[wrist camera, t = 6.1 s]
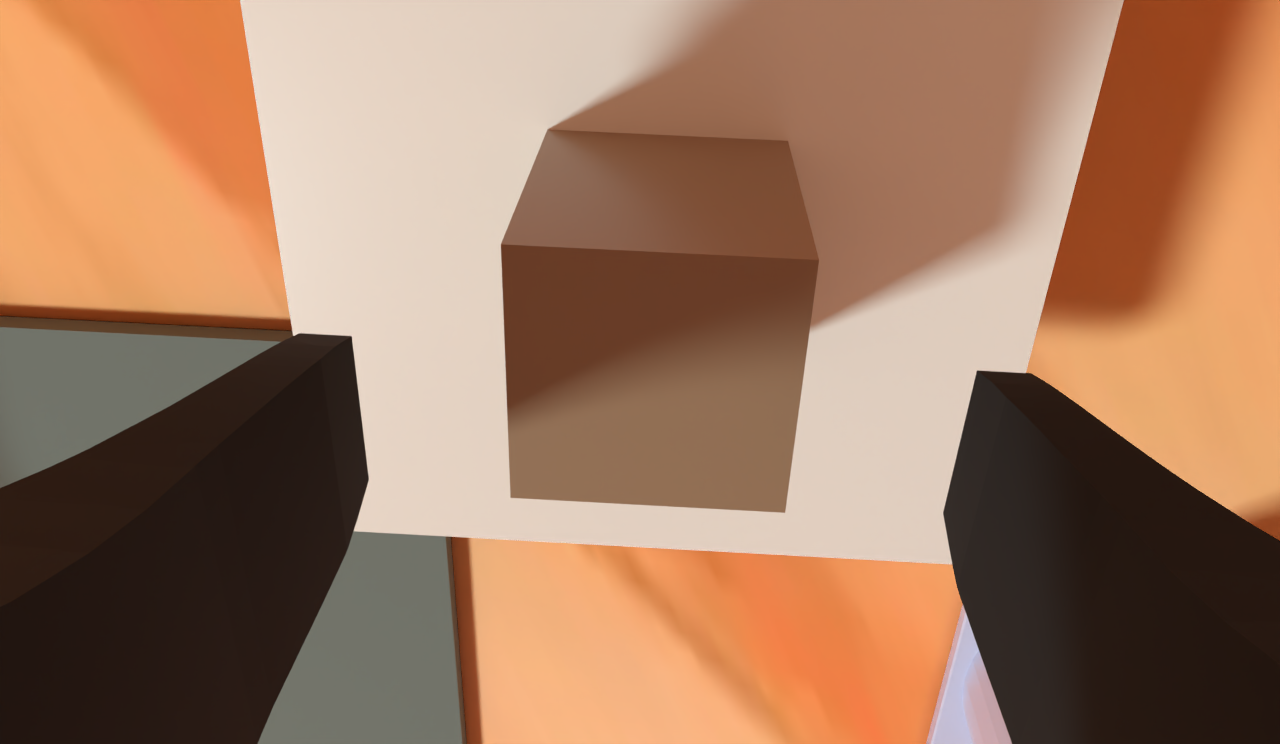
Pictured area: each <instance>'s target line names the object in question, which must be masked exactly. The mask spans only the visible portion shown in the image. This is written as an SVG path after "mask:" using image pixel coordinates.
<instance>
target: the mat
mask: <svg viewBox="0 0 1280 744" xmlns="http://www.w3.org/2000/svg"><path fill="white" fill-rule="evenodd" d="M292 336H293V332H292V331H279V330H260V329H241V328H221V327H202V326H183V325H163V324H144V323H124V322H105V321H86V320H66V319H47V318H27V317H8V316H0V488H2V487H4V486H6V485H9V484H11V483H13V482H16V481H18V480H20V479H23V478H25V477H28V476H30V475H32V474H35V473H37V472H39V471H42V470H44V469H46V468H49V467H51V466H53V465H55V464H57V463H59V462H62V461H64V460H66V459H68V458H70V457H72V456H75V455H77V454H79V453H81V452H83V451H85V450H87V449H89V448H91V447H93V446H95V445H97V444H99V443H101V442H103V441H105V440H106V439H108V438H110V437H112V436H114V435H116V434H118V433H120V432H122V431H123V430H125V429H127V428H129V427H131V426H133V425H135V424H137V423H139V422H141V421H142V420H144V419H146V418H148V417H150V416H152V415H154V414H156V413H158V412H160V411H161V410H163V409H165V408H167V407H169V406H171V405H172V404H174V403H176V402H178V401H179V400H181V399H183V398H184V397H186V396H188V395H190V394H191V393H193V392H195V391H197V390H198V389H200V388H202V387H203V386H205V385H207V384H209V383H210V382H212V381H214V380H216V379H217V378H219V377H221V376H222V375H224V374H226V373H228V372H229V371H231V370H233V369H234V368H236V367H238V366H239V365H241V364H243V363H245V362H246V361H248V360H250V359H251V358H253V357H255V356H257V355H258V354H260V353H262V352H264V351H265V350H267V349H269V348H271V347H273V346H274V345H276V344H278V343H280V342H282V341H284V340H286V339H288V338H290V337H292ZM258 744H467V741H466V728H465V715H464V702H463V689H462V676H461V663H460V650H459V637H458V624H457V611H456V598H455V585H454V572H453V559H452V546H451V537H448V536H430V535H411V534H393V533H375V532H357V531H353V535H352V538H351V541H350V544H349V547H348V550H347V552H346V555H345V557H344V559H343V561H342V563H341V566H340V568H339V570H338V572H337V574H336V576H335V578H334V581H333V583H332V585H331V587H330V589H329V591H328V593H327V596H326V598H325V600H324V602H323V604H322V606H321V608H320V610H319V612H318V615H317V617H316V619H315V621H314V623H313V625H312V627H311V629H310V631H309V633H308V635H307V637H306V639H305V642H304V644H303V646H302V648H301V650H300V652H299V654H298V656H297V658H296V660H295V662H294V664H293V667H292V669H291V671H290V673H289V675H288V677H287V679H286V681H285V683H284V685H283V687H282V689H281V692H280V694H279V696H278V698H277V700H276V702H275V704H274V706H273V708H272V711H271V713H270V715H269V718H268V720H267V723H266V725H265V727H264V730H263V732H262V734H261V737H260V739H259V741H258Z"/></svg>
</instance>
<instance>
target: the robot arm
mask: <svg viewBox="0 0 1280 744" xmlns="http://www.w3.org/2000/svg"><path fill="white" fill-rule="evenodd" d="M368 481H369V476H368V468H367V459H366V451H365V443H364V434H363V426H362V418H361V410H360V401H359V393H358V385H357V376H356V368H355V360H354V351H353V343H352V336H342V335H324V334H306V333H299V334H297V335H295V336H292V337H290V338H288V339H286V340H284V341H282V342H280V343H278V344H276V345H274V346H273V347H271V348H269V349H267V350H265V351H264V352H262V353H260V354H258V355H257V356H255V357H253V358H251V359H250V360H248V361H246V362H245V363H243V364H241V365H239V366H238V367H236V368H234V369H233V370H231V371H229V372H228V373H226V374H224V375H222V376H221V377H219V378H217V379H216V380H214V381H212V382H210V383H209V384H207V385H205V386H203V387H202V388H200V389H198V390H197V391H195V392H193V393H191V394H190V395H188V396H186V397H184V398H183V399H181V400H179V401H178V402H176V403H174V404H172V405H171V406H169V407H167V408H165V409H163V410H161V411H160V412H158V413H156V414H154V415H152V416H150V417H148V418H146V419H144V420H142V421H141V422H139V423H137V424H135V425H133V426H131V427H129V428H127V429H125V430H123V431H122V432H120V433H118V434H116V435H114V436H112V437H110V438H108V439H106V440H105V441H103V442H101V443H99V444H97V445H95V446H93V447H91V448H89V449H87V450H85V451H83V452H81V453H79V454H77V455H75V456H72V457H70V458H68V459H66V460H64V461H62V462H59V463H57V464H55V465H53V466H51V467H49V468H46V469H44V470H42V471H39V472H37V473H35V474H32V475H30V476H28V477H25V478H23V479H20V480H18V481H16V482H13V483H11V484H9V485H6V486H4V487H2V488H0V744H258V741H259V739H260V737H261V734H262V732H263V730H264V727H265V725H266V723H267V720H268V718H269V715H270V713H271V711H272V708H273V706H274V704H275V702H276V700H277V698H278V696H279V694H280V692H281V689H282V687H283V685H284V683H285V681H286V679H287V677H288V675H289V673H290V671H291V669H292V667H293V664H294V662H295V660H296V658H297V656H298V654H299V652H300V650H301V648H302V646H303V644H304V642H305V639H306V637H307V635H308V633H309V631H310V629H311V627H312V625H313V623H314V621H315V619H316V617H317V615H318V612H319V610H320V608H321V606H322V604H323V602H324V600H325V598H326V596H327V593H328V591H329V589H330V587H331V585H332V583H333V581H334V578H335V576H336V574H337V572H338V570H339V568H340V566H341V563H342V561H343V559H344V557H345V555H346V552H347V550H348V547H349V544H350V541H351V538H352V535H353V531H354V528H355V525H356V522H357V519H358V516H359V512H360V509H361V505H362V502H363V498H364V495H365V492H366V488H367V485H368ZM943 516H944V521H945V527H946V532H947V538H948V544H949V549H950V555H951V560H952V564H953V569H954V574H955V579H956V584H957V588H958V591H959V594H960V597H961V600H962V603H963V605H962V609H961V613H960V617H959V620H958V624H957V628H956V632H955V636H954V639H953V643H952V647H951V651H950V655H949V658H948V662H947V666H946V670H945V674H944V678H943V681H942V685H941V689H940V693H939V697H938V700H937V704H936V708H935V712H934V716H933V719H932V723H931V727H930V731H929V735H928V739H927V742H926V744H1280V541H1279V540H1277V539H1276V538H1274V537H1272V536H1271V535H1269V534H1267V533H1266V532H1264V531H1262V530H1260V529H1259V528H1257V527H1255V526H1254V525H1252V524H1250V523H1249V522H1247V521H1245V520H1244V519H1242V518H1241V517H1239V516H1238V515H1236V514H1235V513H1233V512H1231V511H1230V510H1228V509H1227V508H1225V507H1224V506H1222V505H1220V504H1219V503H1217V502H1216V501H1214V500H1213V499H1211V498H1210V497H1208V496H1206V495H1205V494H1203V493H1202V492H1200V491H1199V490H1197V489H1196V488H1194V487H1193V486H1191V485H1190V484H1188V483H1187V482H1185V481H1184V480H1182V479H1181V478H1179V477H1178V476H1176V475H1175V474H1173V473H1172V472H1171V471H1169V470H1168V469H1166V468H1165V467H1163V466H1162V465H1161V464H1159V463H1158V462H1156V461H1155V460H1153V459H1152V458H1151V457H1149V456H1148V455H1146V454H1145V453H1144V452H1142V451H1141V450H1139V449H1138V448H1137V447H1135V446H1134V445H1132V444H1131V443H1130V442H1128V441H1127V440H1126V439H1124V438H1123V437H1121V436H1120V435H1119V434H1117V433H1116V432H1115V431H1113V430H1112V429H1111V428H1109V427H1108V426H1106V425H1105V424H1104V423H1102V422H1101V421H1100V420H1098V419H1097V418H1096V417H1094V416H1093V415H1091V414H1090V413H1089V412H1087V411H1086V410H1085V409H1083V408H1082V407H1081V406H1079V405H1078V404H1076V403H1075V402H1074V401H1072V400H1071V399H1069V398H1068V397H1067V396H1065V395H1064V394H1062V393H1061V392H1060V391H1058V390H1057V389H1055V388H1054V387H1052V386H1051V385H1049V384H1048V383H1046V382H1045V381H1043V380H1041V379H1040V378H1038V377H1036V376H1034V375H1033V374H1031V373H1014V372H996V371H978V370H977V372H976V376H975V381H974V385H973V389H972V393H971V398H970V402H969V406H968V410H967V414H966V419H965V423H964V427H963V431H962V435H961V440H960V444H959V448H958V452H957V456H956V461H955V465H954V469H953V473H952V477H951V482H950V486H949V490H948V494H947V498H946V503H945V507H944V511H943Z"/></svg>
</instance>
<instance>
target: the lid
mask: <svg viewBox="0 0 1280 744" xmlns="http://www.w3.org/2000/svg"><path fill="white" fill-rule="evenodd" d="M1123 2H1124V0H240V3H241V9H242V15H243V22H244V28H245V34H246V41H247V47H248V53H249V60H250V66H251V72H252V79H253V85H254V91H255V98H256V104H257V110H258V117H259V123H260V129H261V136H262V142H263V148H264V155H265V161H266V167H267V174H268V180H269V186H270V193H271V199H272V205H273V212H274V218H275V224H276V230H277V237H278V243H279V249H280V256H281V262H282V268H283V275H284V281H285V287H286V294H287V300H288V306H289V313H290V319H291V325H292V332H293V336H295V335H297V334H299V333H306V334H324V335H342V336H352V343H353V351H354V360H355V368H356V376H357V385H358V393H359V401H360V410H361V418H362V426H363V434H364V443H365V451H366V459H367V468H368V476H369V481H368V485H367V488H366V492H365V495H364V498H363V502H362V505H361V509H360V512H359V516H358V519H357V522H356V525H355V528H354V531H357V532H375V533H393V534H411V535H430V536H448V537H466V538H484V539H502V540H520V541H538V542H556V543H574V544H593V545H611V546H629V547H647V548H665V549H683V550H701V551H719V552H737V553H756V554H774V555H792V556H810V557H828V558H846V559H864V560H882V561H900V562H919V563H937V564H952V560H951V555H950V549H949V544H948V538H947V532H946V527H945V521H944V516H943V511H944V507H945V503H946V498H947V494H948V490H949V486H950V482H951V477H952V473H953V469H954V465H955V461H956V456H957V452H958V448H959V444H960V440H961V435H962V431H963V427H964V423H965V419H966V414H967V410H968V406H969V402H970V398H971V393H972V389H973V385H974V381H975V376H976V372H977V370H978V371H996V372H1014V373H1026V370H1027V366H1028V363H1029V359H1030V355H1031V351H1032V347H1033V344H1034V340H1035V336H1036V332H1037V328H1038V325H1039V321H1040V317H1041V313H1042V309H1043V306H1044V302H1045V298H1046V294H1047V290H1048V287H1049V283H1050V279H1051V275H1052V271H1053V268H1054V264H1055V260H1056V256H1057V252H1058V249H1059V245H1060V241H1061V237H1062V233H1063V230H1064V226H1065V222H1066V218H1067V214H1068V211H1069V207H1070V203H1071V199H1072V195H1073V192H1074V188H1075V184H1076V180H1077V176H1078V173H1079V169H1080V165H1081V161H1082V157H1083V154H1084V150H1085V146H1086V142H1087V138H1088V135H1089V131H1090V127H1091V123H1092V119H1093V116H1094V112H1095V108H1096V104H1097V100H1098V97H1099V93H1100V89H1101V85H1102V81H1103V78H1104V74H1105V70H1106V66H1107V62H1108V59H1109V55H1110V51H1111V47H1112V43H1113V40H1114V36H1115V32H1116V28H1117V24H1118V21H1119V17H1120V13H1121V9H1122V5H1123Z"/></svg>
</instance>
